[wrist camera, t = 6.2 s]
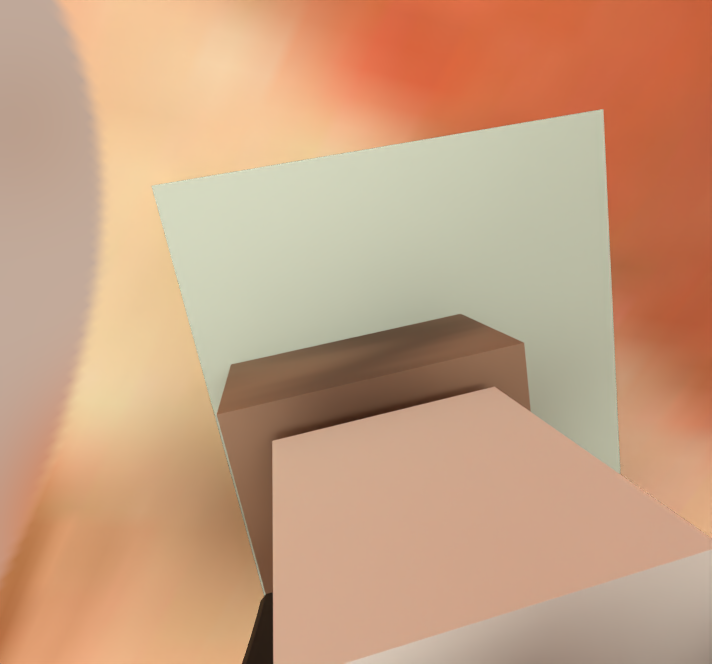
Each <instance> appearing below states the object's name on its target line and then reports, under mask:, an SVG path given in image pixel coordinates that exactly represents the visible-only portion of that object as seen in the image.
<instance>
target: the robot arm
mask: <svg viewBox="0 0 712 664" xmlns="http://www.w3.org/2000/svg"><path fill="white" fill-rule="evenodd" d="M242 664H273V592H271V593H268V594H266V595H265V596H264V597H263V599H262V600H261V602H260V606H259V610H258V614H257V617H256V621H255V624H254V628H253V631H252V634H251V638H250V641H249V644H248V647H247V650H246V653H245V656H244V659H243V662H242Z"/></svg>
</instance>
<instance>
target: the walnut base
mask: <svg viewBox="0 0 712 664" xmlns="http://www.w3.org/2000/svg"><path fill="white" fill-rule="evenodd" d="M491 387H496V388H497V389H499V390H500V391H501V392H503V393H504V394H506V395H507V396H509V397H510V398H511V399H513V400H514V401H516V402H517V403H519V404H520V405H521V406H523V407H524V408H526V409H527V410H529V411H530V412H531V409H530V398H529V388H528V377H527V367H526V357H525V346H524V342H521V341H519V340H517V339H515V338H513V337H511V336H508V335H506V334H504V333H502V332H500V331H497V330H495V329H493V328H491V327H489V326H486V325H484V324H482V323H480V322H478V321H476V320H473V319H471V318H469V317H467V316H465V315H462V314H457V315H452V316H448V317H443V318H439V319H434V320H430V321H425V322H421V323H416V324H412V325H407V326H403V327H398V328H394V329H389V330H385V331H380V332H376V333H371V334H367V335H362V336H358V337H353V338H349V339H344V340H340V341H335V342H331V343H326V344H321V345H317V346H312V347H308V348H303V349H299V350H294V351H290V352H285V353H281V354H276V355H272V356H267V357H263V358H258V359H254V360H249V361H245V362H240V363H236V364H231V366H230V370H229V373H228V377H227V380H226V384H225V387H224V391H223V394H222V398H221V401H220V405H219V408H218V412H217V418H218V421H219V425H220V429H221V432H222V436H223V440H224V443H225V447H226V451H227V454H228V458H229V462H230V465H231V469H232V473H233V476H234V480H235V484H236V487H237V491H238V495H239V498H240V502H241V506H242V509H243V513H244V516H245V520H246V524H247V527H248V531H249V535H250V538H251V542H252V546H253V549H254V553H255V557H256V560H257V564H258V568H259V571H260V575H261V579H262V582H263V586H264V590H265V593H266V594H268V593H271V592H273V482H272V441H274V440H278V439H282V438H286V437H290V436H294V435H298V434H302V433H307V432H311V431H315V430H319V429H323V428H327V427H331V426H335V425H339V424H343V423H348V422H352V421H356V420H360V419H364V418H368V417H372V416H376V415H380V414H384V413H388V412H393V411H397V410H401V409H405V408H409V407H413V406H417V405H421V404H425V403H429V402H433V401H438V400H442V399H446V398H450V397H454V396H458V395H462V394H466V393H470V392H474V391H478V390H483V389H487V388H491Z"/></svg>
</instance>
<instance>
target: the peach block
mask: <svg viewBox="0 0 712 664" xmlns="http://www.w3.org/2000/svg"><path fill="white" fill-rule="evenodd" d="M272 482H273V664H712V538H711V537H709V536H708V535H706V534H705V533H703V532H702V531H701V530H699V529H698V528H696V527H695V526H693V525H692V524H691V523H689V522H688V521H686V520H685V519H683V518H682V517H681V516H679V515H678V514H676V513H675V512H673V511H672V510H670V509H669V508H668V507H666V506H665V505H663V504H662V503H660V502H659V501H658V500H656V499H655V498H653V497H652V496H650V495H649V494H648V493H646V492H645V491H643V490H642V489H640V488H639V487H638V486H636V485H635V484H633V483H632V482H630V481H629V480H628V479H626V478H625V477H623V476H622V475H620V474H619V473H617V472H616V471H615V470H613V469H612V468H610V467H609V466H607V465H606V464H605V463H603V462H602V461H600V460H599V459H597V458H596V457H595V456H593V455H592V454H590V453H589V452H587V451H586V450H585V449H583V448H582V447H580V446H579V445H577V444H576V443H575V442H573V441H572V440H570V439H569V438H567V437H566V436H564V435H563V434H562V433H560V432H559V431H557V430H556V429H554V428H553V427H552V426H550V425H549V424H547V423H546V422H544V421H543V420H542V419H540V418H539V417H537V416H536V415H534V414H533V413H532V412H530V411H529V410H527V409H526V408H524V407H523V406H521V405H520V404H519V403H517V402H516V401H514V400H513V399H511V398H510V397H509V396H507V395H506V394H504V393H503V392H501V391H500V390H499V389H497V388H496V387H491V388H487V389H483V390H478V391H474V392H470V393H466V394H462V395H458V396H454V397H450V398H446V399H442V400H438V401H433V402H429V403H425V404H421V405H417V406H413V407H409V408H405V409H401V410H397V411H393V412H388V413H384V414H380V415H376V416H372V417H368V418H364V419H360V420H356V421H352V422H348V423H343V424H339V425H335V426H331V427H327V428H323V429H319V430H315V431H311V432H307V433H302V434H298V435H294V436H290V437H286V438H282V439H278V440H274V441H272Z"/></svg>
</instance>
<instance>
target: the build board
mask: <svg viewBox="0 0 712 664" xmlns="http://www.w3.org/2000/svg"><path fill="white" fill-rule="evenodd" d="M152 189H153V193H154V196H155V200H156V204H157V207H158V211H159V215H160V218H161V222H162V226H163V229H164V233H165V236H166V240H167V244H168V247H169V251H170V255H171V258H172V262H173V266H174V269H175V273H176V276H177V280H178V284H179V287H180V291H181V295H182V298H183V302H184V306H185V309H186V313H187V316H188V320H189V324H190V327H191V331H192V335H193V338H194V342H195V346H196V349H197V353H198V356H199V360H200V364H201V367H202V371H203V375H204V378H205V382H206V386H207V389H208V393H209V396H210V400H211V404H212V407H213V411H214V415H215V418H216V422H217V426H218V429H219V433H220V437H221V440H222V444H223V447H224V451H225V455H226V458H227V462H228V466H229V469H230V473H231V477H232V480H233V484H234V487H235V491H236V495H237V498H238V502H239V506H240V509H241V513H242V517H243V520H244V524H245V527H246V531H247V535H248V538H249V542H250V546H251V549H252V553H253V557H254V560H255V564H256V567H257V571H258V575H259V578H260V582H261V586H262V589H263V593H264V596H265V595H266V593H265V590H264V586H263V582H262V579H261V575H260V571H259V568H258V564H257V560H256V557H255V553H254V549H253V546H252V542H251V538H250V535H249V531H248V527H247V524H246V520H245V516H244V513H243V509H242V506H241V502H240V498H239V495H238V491H237V487H236V484H235V480H234V476H233V473H232V469H231V465H230V462H229V458H228V454H227V451H226V447H225V443H224V440H223V436H222V432H221V429H220V425H219V421H218V418H217V412H218V408H219V405H220V401H221V398H222V394H223V391H224V387H225V384H226V380H227V377H228V373H229V370H230V366H231V364H236V363H240V362H245V361H249V360H254V359H258V358H263V357H267V356H272V355H276V354H281V353H285V352H290V351H294V350H299V349H303V348H308V347H312V346H317V345H321V344H326V343H331V342H335V341H340V340H344V339H349V338H353V337H358V336H362V335H367V334H371V333H376V332H380V331H385V330H389V329H394V328H398V327H403V326H407V325H412V324H416V323H421V322H425V321H430V320H434V319H439V318H443V317H448V316H452V315H457V314H462V315H465V316H467V317H469V318H471V319H473V320H476V321H478V322H480V323H482V324H484V325H486V326H489V327H491V328H493V329H495V330H497V331H500V332H502V333H504V334H506V335H508V336H511V337H513V338H515V339H517V340H519V341H521V342H524V346H525V357H526V367H527V377H528V388H529V398H530V409H531V412H532V413H533V414H534V415H536V416H537V417H539V418H540V419H542V420H543V421H544V422H546V423H547V424H549V425H550V426H552V427H553V428H554V429H556V430H557V431H559V432H560V433H562V434H563V435H564V436H566V437H567V438H569V439H570V440H572V441H573V442H575V443H576V444H577V445H579V446H580V447H582V448H583V449H585V450H586V451H587V452H589V453H590V454H592V455H593V456H595V457H596V458H597V459H599V460H600V461H602V462H603V463H605V464H606V465H607V466H609V467H610V468H612V469H613V470H615V471H616V472H617V473H619V474H620V453H619V432H618V411H617V390H616V369H615V347H614V326H613V305H612V284H611V263H610V242H609V220H608V199H607V178H606V157H605V136H604V114H603V109H601V110H596V111H590V112H584V113H578V114H572V115H566V116H560V117H554V118H548V119H543V120H537V121H531V122H525V123H519V124H513V125H507V126H501V127H495V128H489V129H484V130H478V131H472V132H466V133H460V134H454V135H448V136H442V137H436V138H431V139H425V140H419V141H413V142H407V143H401V144H395V145H389V146H383V147H378V148H372V149H366V150H360V151H354V152H348V153H342V154H336V155H330V156H324V157H319V158H313V159H307V160H301V161H295V162H289V163H283V164H277V165H271V166H266V167H260V168H254V169H248V170H242V171H236V172H230V173H224V174H218V175H212V176H207V177H201V178H195V179H189V180H183V181H177V182H171V183H165V184H159V185H154V186H152ZM620 475H621V474H620Z"/></svg>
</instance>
